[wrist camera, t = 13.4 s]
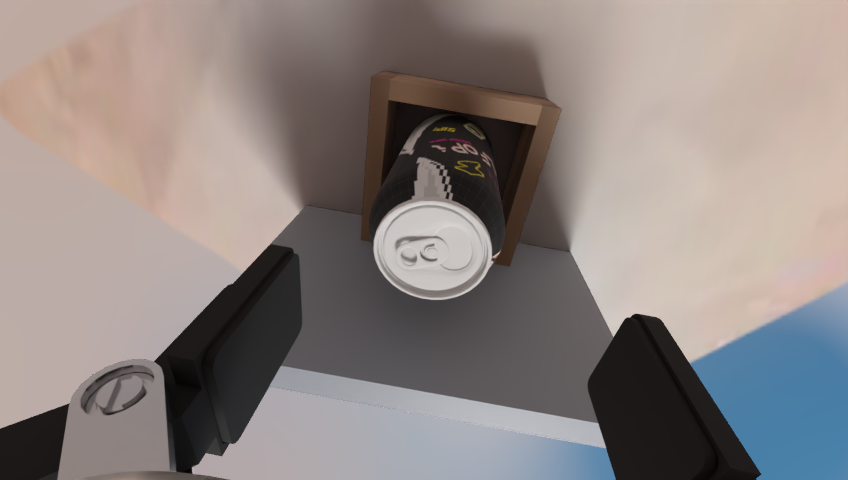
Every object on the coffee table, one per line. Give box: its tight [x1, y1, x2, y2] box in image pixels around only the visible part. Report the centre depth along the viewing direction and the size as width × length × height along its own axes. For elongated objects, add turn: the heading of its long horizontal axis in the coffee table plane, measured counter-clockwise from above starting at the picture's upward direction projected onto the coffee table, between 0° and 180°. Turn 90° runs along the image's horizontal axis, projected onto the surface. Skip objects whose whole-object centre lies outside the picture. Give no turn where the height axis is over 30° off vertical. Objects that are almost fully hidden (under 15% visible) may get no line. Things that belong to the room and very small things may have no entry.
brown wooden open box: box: [361, 71, 562, 267], centre depth 22 cm, size 10×10×4 cm
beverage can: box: [369, 113, 505, 300], centre depth 18 cm, size 6×6×12 cm
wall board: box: [269, 205, 613, 448], centre depth 21 cm, size 20×2×14 cm, turn 82°
